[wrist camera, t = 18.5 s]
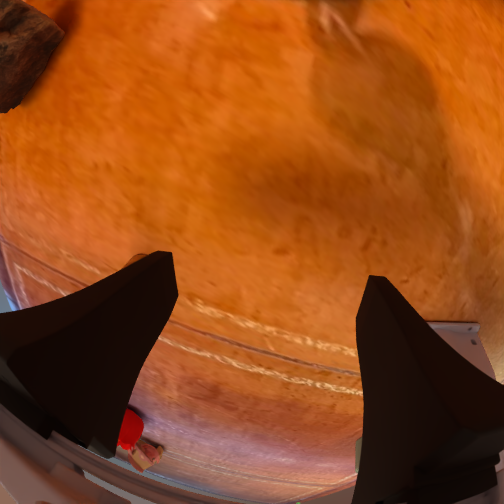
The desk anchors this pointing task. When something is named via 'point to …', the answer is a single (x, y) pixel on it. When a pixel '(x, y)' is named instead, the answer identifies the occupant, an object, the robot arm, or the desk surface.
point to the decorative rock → (23, 49)
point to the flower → (130, 430)
